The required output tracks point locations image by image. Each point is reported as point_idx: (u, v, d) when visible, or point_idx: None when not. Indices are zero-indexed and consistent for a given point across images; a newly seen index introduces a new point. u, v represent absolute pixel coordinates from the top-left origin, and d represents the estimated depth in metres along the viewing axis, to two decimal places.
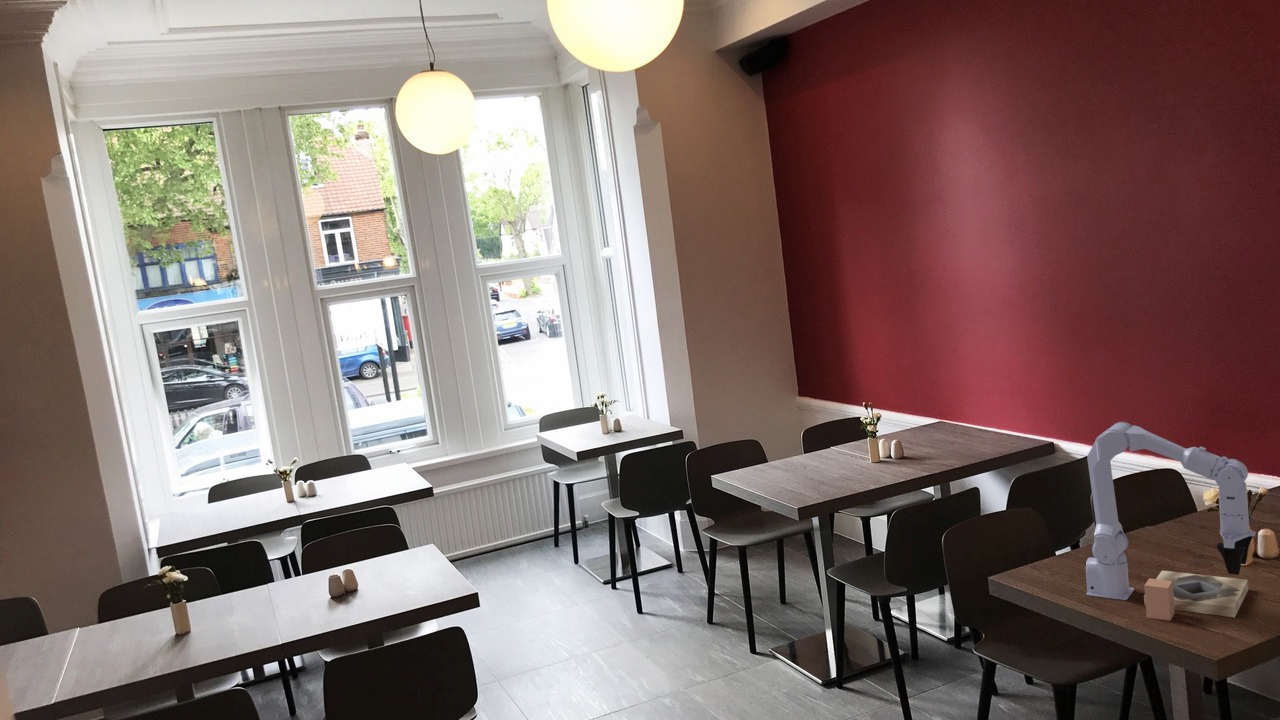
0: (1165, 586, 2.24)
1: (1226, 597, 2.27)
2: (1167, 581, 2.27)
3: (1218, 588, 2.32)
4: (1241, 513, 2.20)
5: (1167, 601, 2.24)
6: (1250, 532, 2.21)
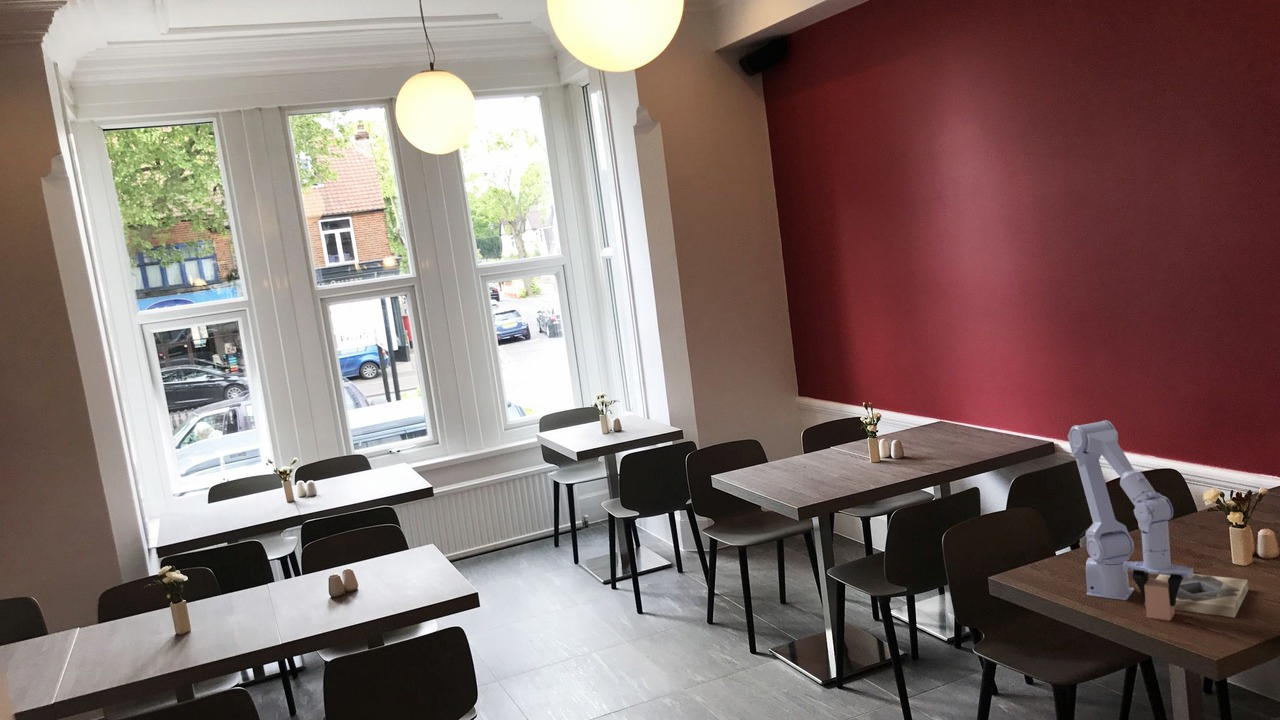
0: (1165, 586, 2.24)
1: (1226, 597, 2.27)
2: (1167, 581, 2.27)
3: (1218, 588, 2.32)
4: (1153, 549, 2.23)
5: (1167, 601, 2.24)
6: (1152, 570, 2.24)
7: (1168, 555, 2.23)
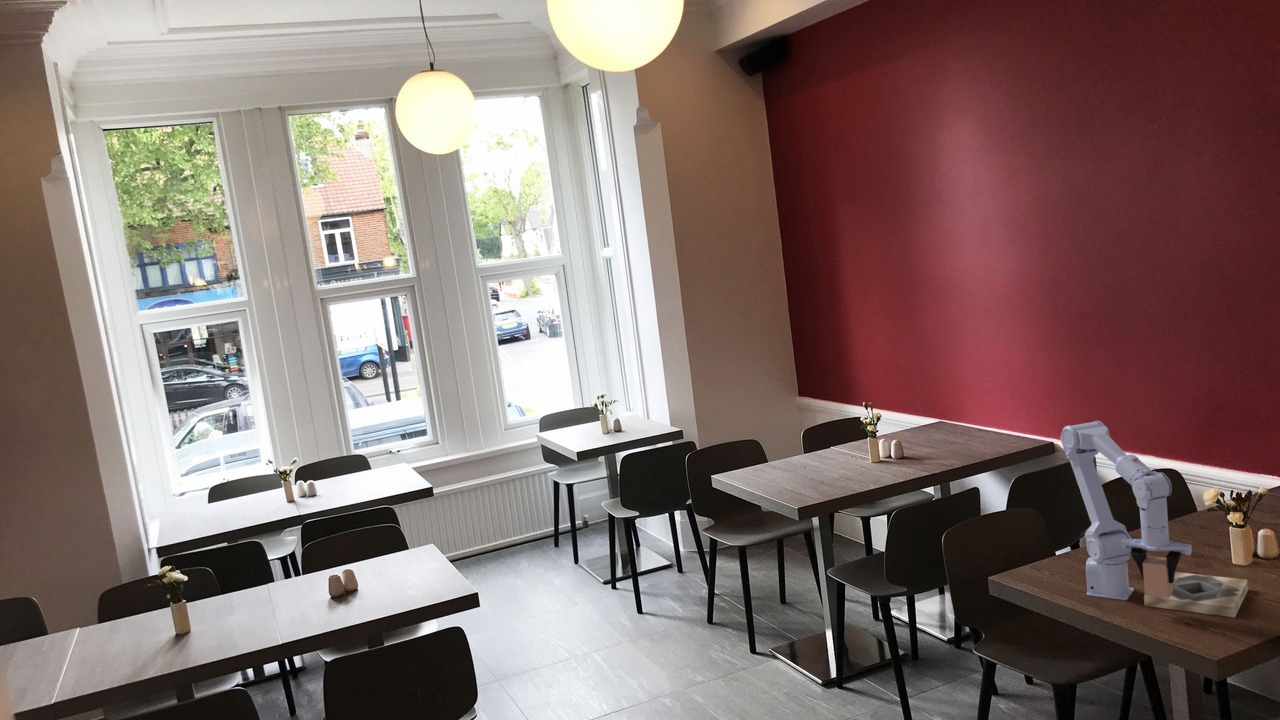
0: (1163, 563, 2.23)
1: (1226, 597, 2.27)
2: (1165, 559, 2.26)
3: (1218, 588, 2.32)
4: (1151, 526, 2.23)
5: (1165, 578, 2.23)
6: (1151, 546, 2.23)
7: (1166, 532, 2.23)
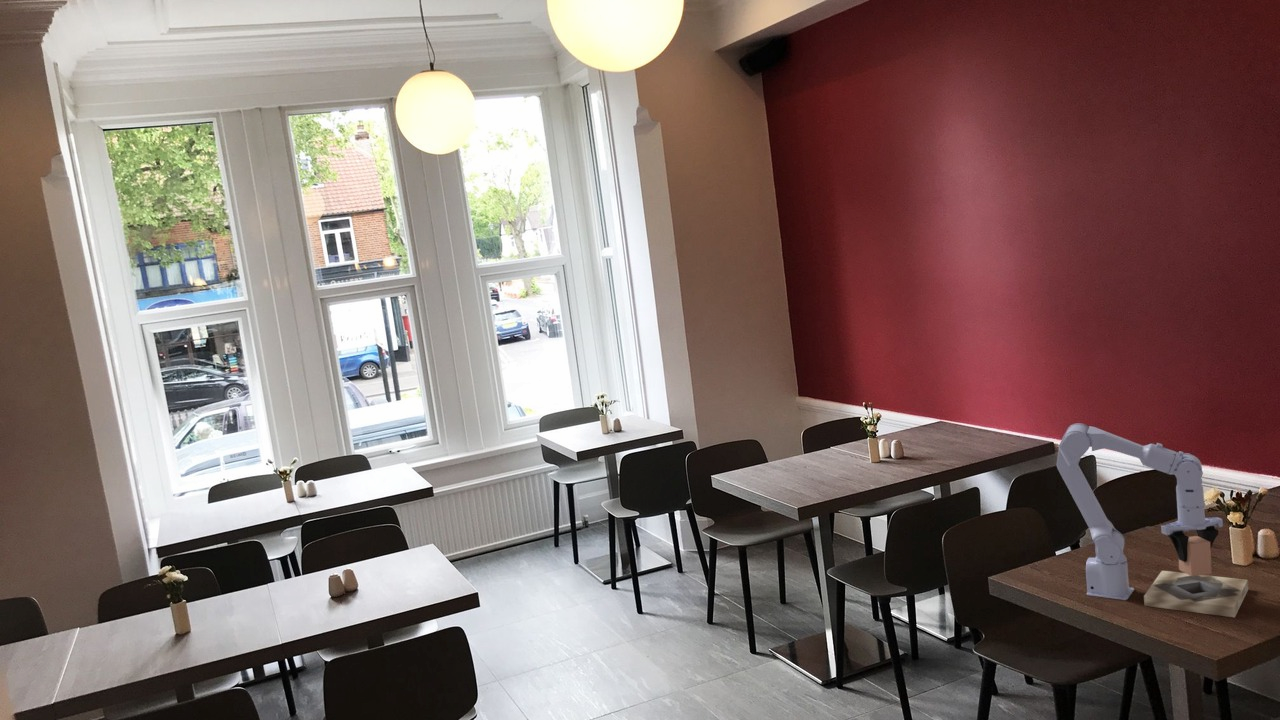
0: (1205, 541, 2.31)
1: (1226, 597, 2.27)
2: (1195, 537, 2.35)
3: (1218, 588, 2.32)
4: (1199, 505, 2.29)
5: (1209, 555, 2.31)
6: (1199, 526, 2.29)
7: None
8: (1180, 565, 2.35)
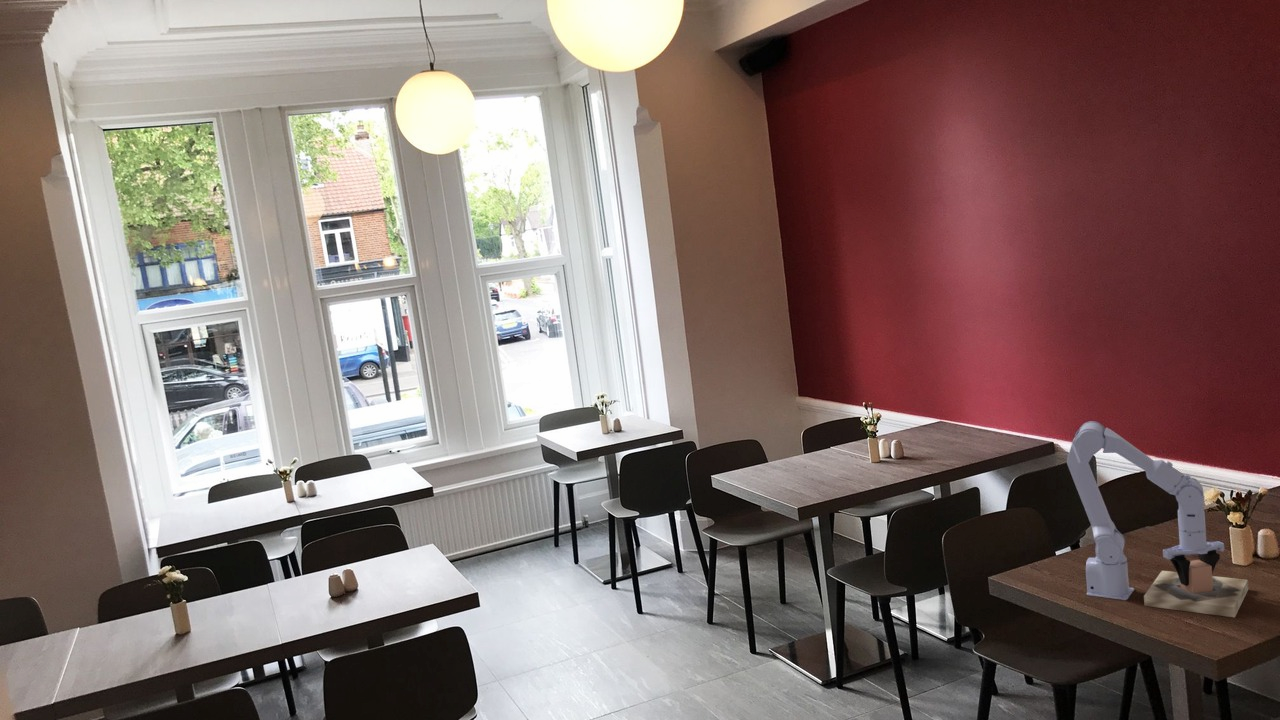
0: (1206, 565, 2.32)
1: (1226, 597, 2.27)
2: (1196, 561, 2.35)
3: (1218, 588, 2.32)
4: (1201, 529, 2.30)
5: (1211, 579, 2.31)
6: (1200, 550, 2.30)
7: None
8: None
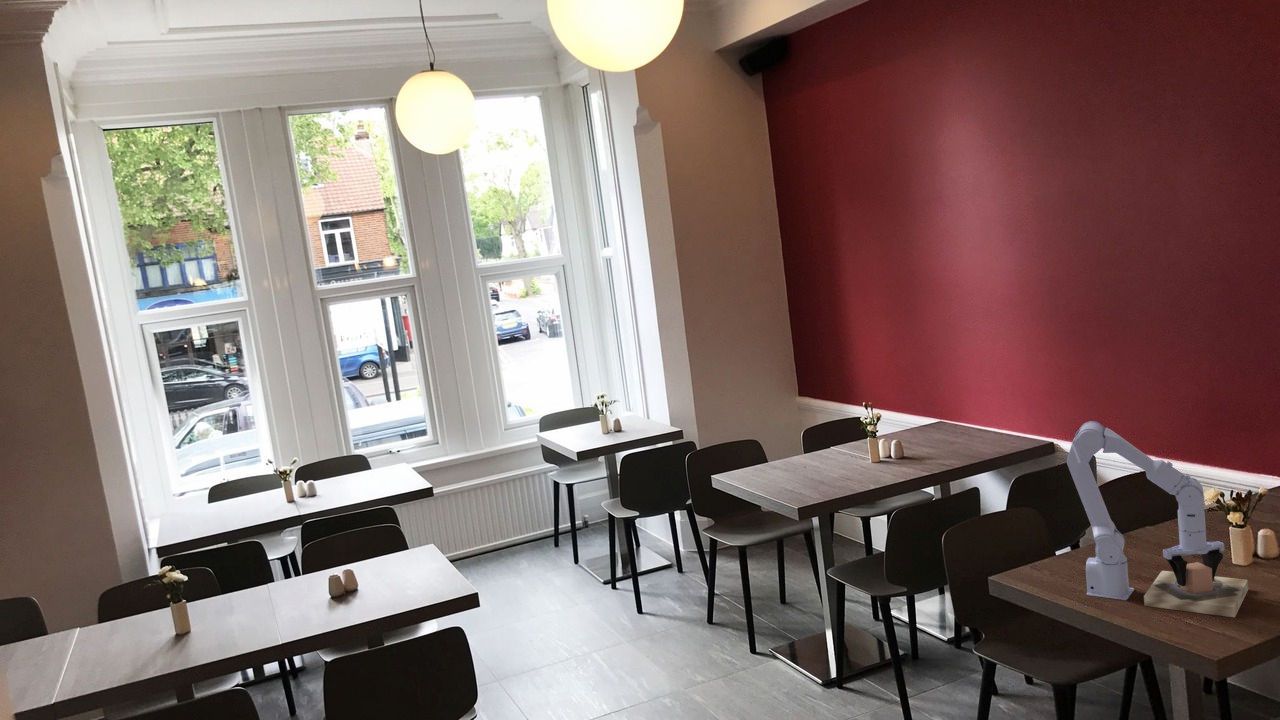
0: (1206, 567, 2.32)
1: (1226, 597, 2.27)
2: (1196, 563, 2.35)
3: (1218, 588, 2.32)
4: (1201, 529, 2.30)
5: (1211, 581, 2.32)
6: (1200, 550, 2.30)
7: None
8: None
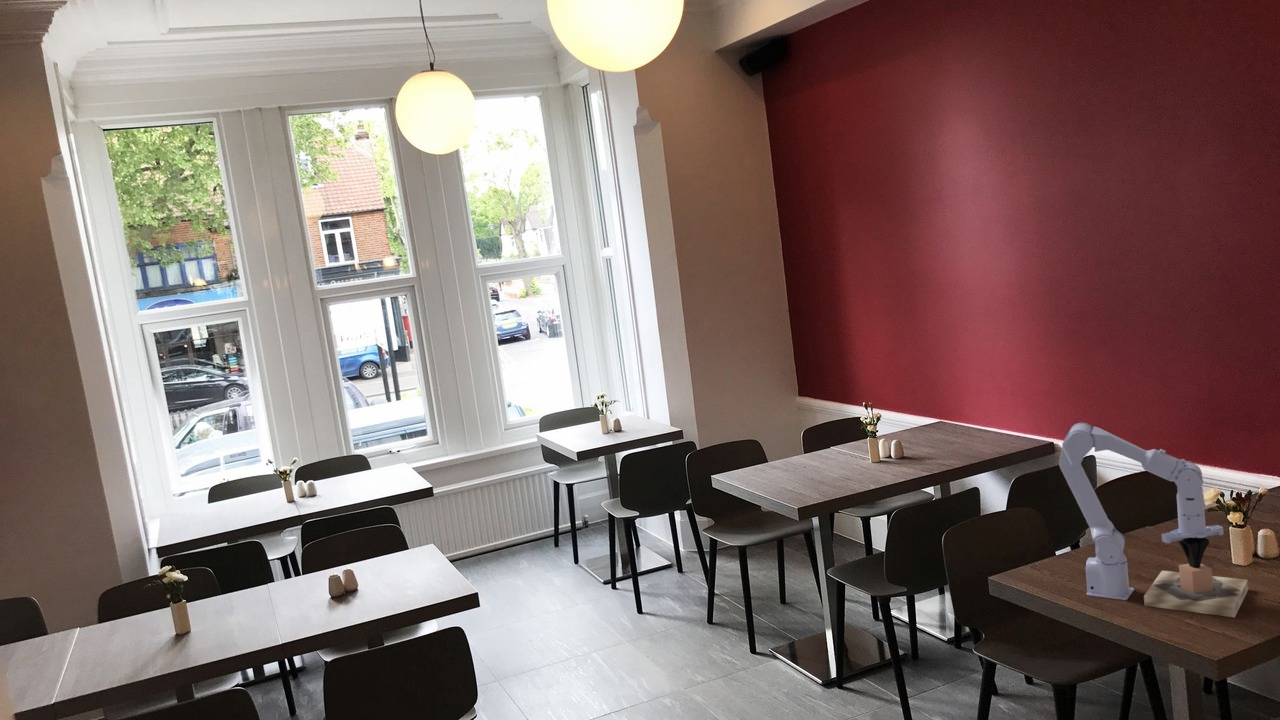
0: (1206, 567, 2.32)
1: (1226, 597, 2.27)
2: None
3: (1218, 588, 2.32)
4: (1200, 513, 2.29)
5: (1211, 581, 2.32)
6: (1199, 534, 2.30)
7: None
8: None
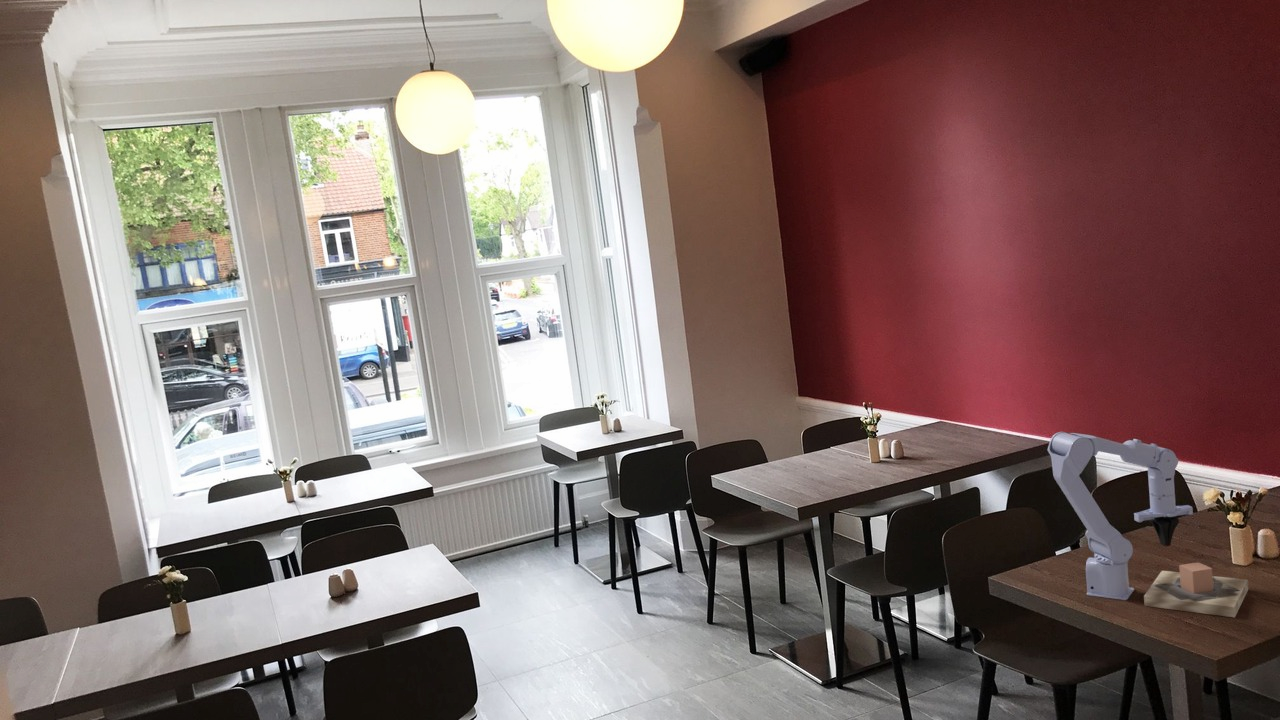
0: (1207, 567, 2.32)
1: (1226, 597, 2.27)
2: (1196, 563, 2.35)
3: (1218, 588, 2.32)
4: (1174, 491, 2.42)
5: (1211, 581, 2.31)
6: (1170, 513, 2.41)
7: None
8: None
